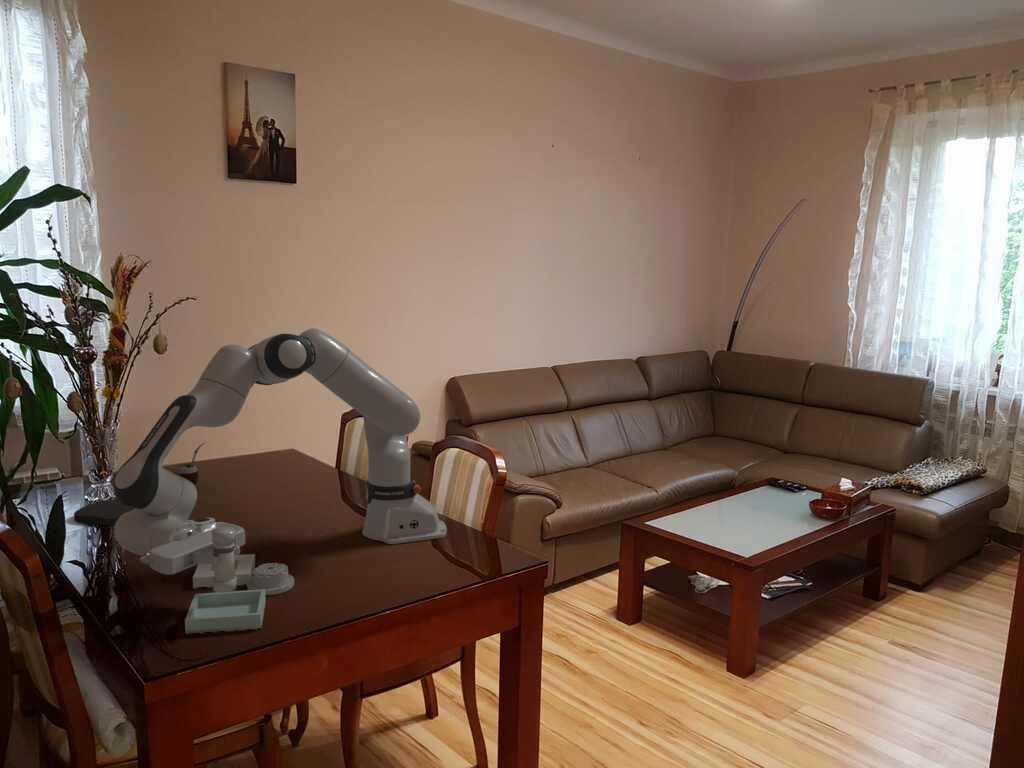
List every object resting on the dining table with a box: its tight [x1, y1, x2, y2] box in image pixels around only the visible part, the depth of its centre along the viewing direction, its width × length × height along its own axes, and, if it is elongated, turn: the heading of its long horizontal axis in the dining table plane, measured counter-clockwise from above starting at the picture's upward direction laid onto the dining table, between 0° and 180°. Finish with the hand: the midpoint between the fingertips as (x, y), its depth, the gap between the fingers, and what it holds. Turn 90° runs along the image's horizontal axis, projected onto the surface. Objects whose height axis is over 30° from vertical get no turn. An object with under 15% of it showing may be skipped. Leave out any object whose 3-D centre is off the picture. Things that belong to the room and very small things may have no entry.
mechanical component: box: [246, 562, 295, 596], centre depth 173 cm, size 10×4×10 cm
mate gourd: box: [173, 442, 205, 487], centre depth 239 cm, size 8×8×15 cm
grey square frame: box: [192, 553, 256, 589], centre depth 178 cm, size 12×12×2 cm
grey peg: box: [212, 527, 238, 593], centre depth 156 cm, size 4×4×12 cm
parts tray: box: [184, 589, 267, 635], centre depth 157 cm, size 14×12×3 cm
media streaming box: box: [73, 499, 135, 527], centre depth 216 cm, size 15×15×3 cm
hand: (227, 555), depth 155 cm, fingers closed on grey peg, 4 cm apart
